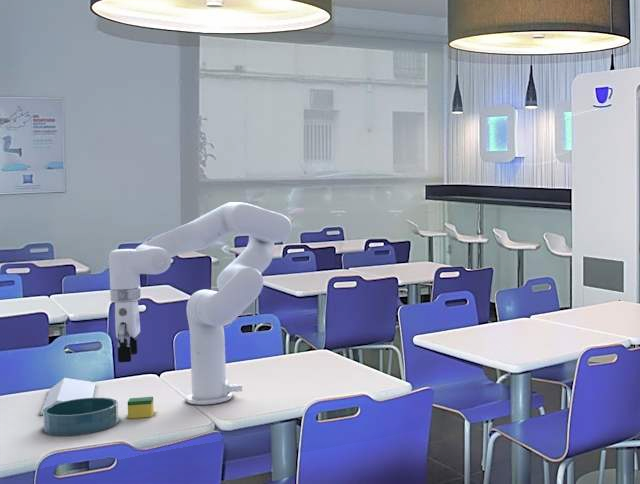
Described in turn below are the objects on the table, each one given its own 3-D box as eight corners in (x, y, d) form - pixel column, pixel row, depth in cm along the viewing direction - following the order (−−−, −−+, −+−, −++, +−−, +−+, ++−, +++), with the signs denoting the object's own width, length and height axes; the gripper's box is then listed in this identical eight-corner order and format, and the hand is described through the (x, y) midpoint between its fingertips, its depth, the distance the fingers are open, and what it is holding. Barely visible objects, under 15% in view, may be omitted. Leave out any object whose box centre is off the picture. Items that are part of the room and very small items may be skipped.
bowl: (122, 413, 239) (122, 395, 239) (111, 432, 222) (110, 412, 222) (53, 418, 236) (52, 400, 235) (36, 438, 218) (35, 418, 218)
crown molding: (89, 409, 244) (89, 396, 244) (41, 415, 239) (40, 402, 239) (93, 386, 271) (93, 374, 271) (49, 391, 266) (49, 379, 266)
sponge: (153, 412, 240) (153, 396, 239) (151, 416, 236) (151, 400, 235) (130, 414, 238) (129, 398, 238) (128, 418, 234) (127, 401, 234)
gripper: (134, 298, 229) (137, 363, 229) (145, 290, 246) (147, 350, 246) (104, 300, 227) (106, 365, 228) (116, 291, 244) (119, 352, 245)
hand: (128, 357), depth 237 cm, fingers open, 9 cm apart
